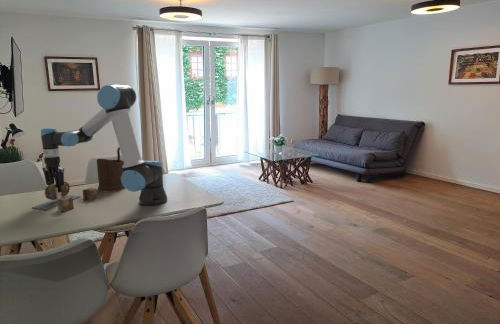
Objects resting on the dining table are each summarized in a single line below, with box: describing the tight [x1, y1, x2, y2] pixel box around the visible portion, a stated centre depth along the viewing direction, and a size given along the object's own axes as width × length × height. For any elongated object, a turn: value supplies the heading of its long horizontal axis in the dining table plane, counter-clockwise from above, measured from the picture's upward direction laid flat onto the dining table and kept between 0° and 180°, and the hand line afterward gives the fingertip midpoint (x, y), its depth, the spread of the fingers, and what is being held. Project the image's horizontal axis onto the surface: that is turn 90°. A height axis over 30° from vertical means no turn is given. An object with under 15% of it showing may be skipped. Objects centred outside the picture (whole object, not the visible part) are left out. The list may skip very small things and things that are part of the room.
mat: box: [31, 194, 82, 211], centre depth 202 cm, size 10×24×1 cm, turn 161°
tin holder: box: [57, 187, 98, 212], centre depth 198 cm, size 6×23×6 cm, turn 161°
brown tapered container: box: [96, 146, 127, 193], centre depth 231 cm, size 18×24×25 cm
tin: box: [44, 181, 71, 201], centre depth 202 cm, size 15×3×8 cm, turn 161°
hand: (56, 197), depth 202 cm, fingers closed on tin, 3 cm apart
